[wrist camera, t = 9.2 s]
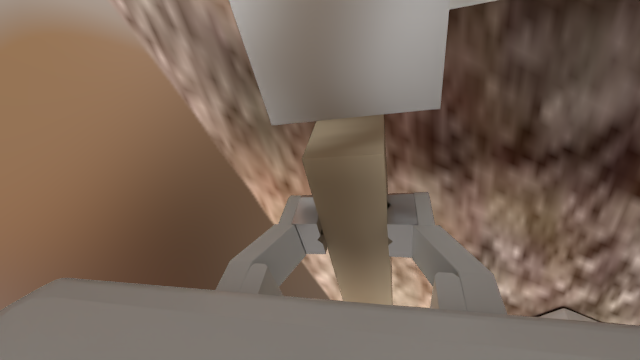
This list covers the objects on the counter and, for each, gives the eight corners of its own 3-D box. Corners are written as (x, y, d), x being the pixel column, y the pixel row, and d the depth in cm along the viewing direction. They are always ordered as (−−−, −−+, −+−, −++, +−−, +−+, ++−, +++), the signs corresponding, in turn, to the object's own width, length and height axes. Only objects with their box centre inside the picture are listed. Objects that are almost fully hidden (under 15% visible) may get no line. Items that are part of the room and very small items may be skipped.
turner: (467, -266, 5) (542, -463, 3) (423, 265, 15) (430, 319, 13) (190, -148, 6) (84, -202, 4) (323, 261, 17) (313, 308, 15)
